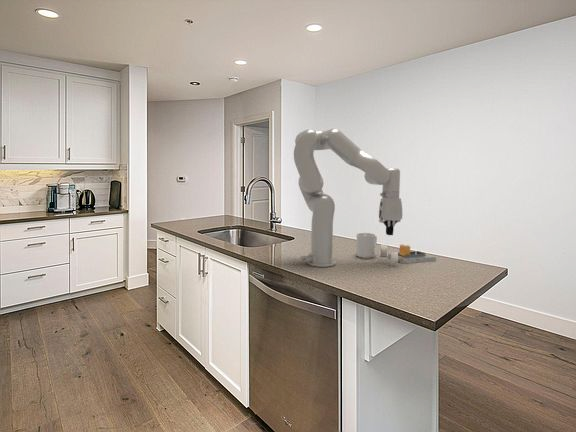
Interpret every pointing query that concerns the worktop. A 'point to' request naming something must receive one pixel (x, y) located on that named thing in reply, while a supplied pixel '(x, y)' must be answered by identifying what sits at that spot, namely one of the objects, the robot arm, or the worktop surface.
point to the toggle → (404, 249)
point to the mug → (366, 245)
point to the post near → (394, 259)
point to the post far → (384, 250)
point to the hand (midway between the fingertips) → (389, 234)
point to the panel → (414, 257)
